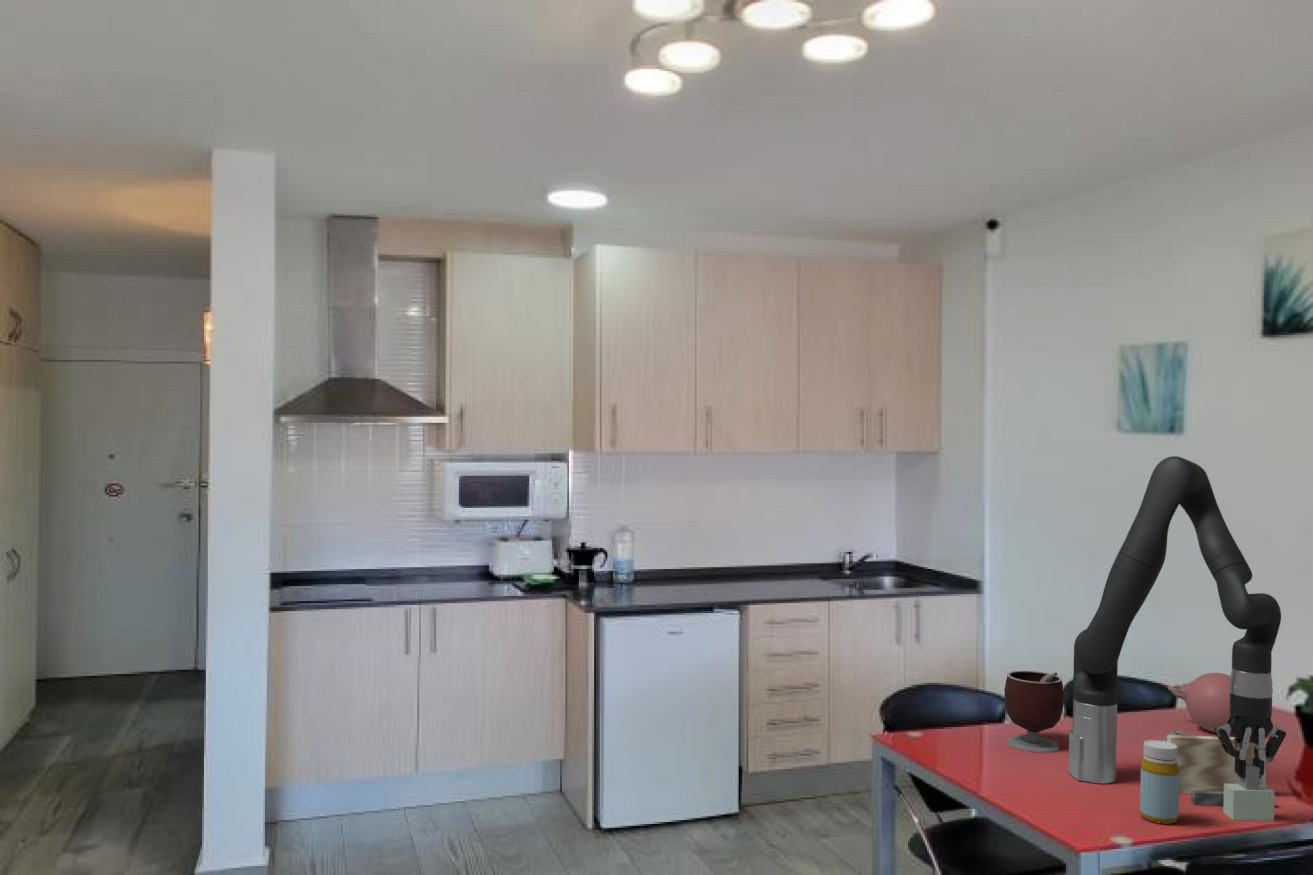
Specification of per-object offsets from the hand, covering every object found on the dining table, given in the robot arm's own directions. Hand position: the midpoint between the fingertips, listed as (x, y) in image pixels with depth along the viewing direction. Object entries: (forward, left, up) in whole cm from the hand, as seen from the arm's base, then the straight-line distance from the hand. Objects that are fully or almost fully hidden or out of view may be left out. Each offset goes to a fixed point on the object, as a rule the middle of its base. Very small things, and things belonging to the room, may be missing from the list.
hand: (1249, 776), depth 215 cm
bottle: (-19, -3, -8) cm, 21 cm away
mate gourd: (-29, +45, -8) cm, 54 cm away
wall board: (0, +11, -8) cm, 14 cm away
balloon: (+22, +65, -8) cm, 69 cm away
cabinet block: (0, 0, -8) cm, 8 cm away
